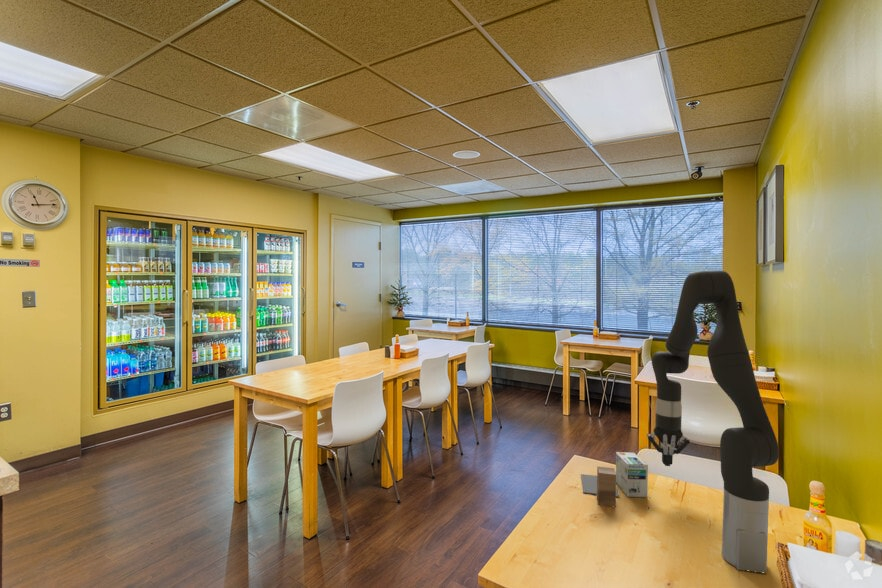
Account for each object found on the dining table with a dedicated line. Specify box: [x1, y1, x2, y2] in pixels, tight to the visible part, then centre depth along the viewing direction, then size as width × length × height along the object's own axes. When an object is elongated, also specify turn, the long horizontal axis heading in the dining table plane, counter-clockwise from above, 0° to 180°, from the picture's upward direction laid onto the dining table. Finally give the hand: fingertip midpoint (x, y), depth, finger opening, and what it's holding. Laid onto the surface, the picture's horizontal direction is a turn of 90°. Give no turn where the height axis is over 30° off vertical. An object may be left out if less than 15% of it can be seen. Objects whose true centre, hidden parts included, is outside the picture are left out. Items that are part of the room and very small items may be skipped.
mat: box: [580, 473, 620, 498], centre depth 149 cm, size 14×11×1 cm
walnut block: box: [596, 466, 617, 507], centre depth 138 cm, size 5×5×10 cm
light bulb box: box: [615, 451, 649, 498], centre depth 146 cm, size 11×7×11 cm, turn 179°
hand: (667, 465), depth 143 cm, fingers closed
